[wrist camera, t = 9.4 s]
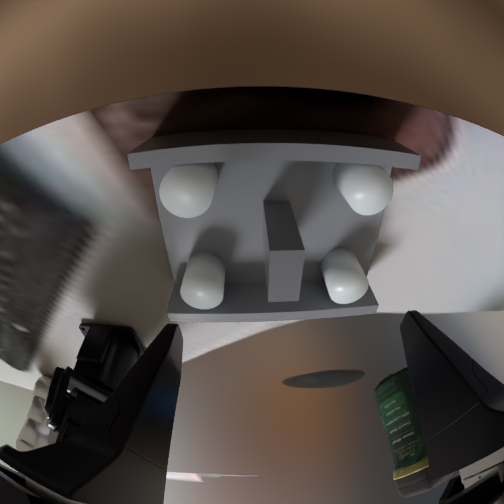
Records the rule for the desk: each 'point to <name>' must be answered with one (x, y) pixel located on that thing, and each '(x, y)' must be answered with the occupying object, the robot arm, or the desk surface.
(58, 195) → the desk surface
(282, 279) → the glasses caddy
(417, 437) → the coffee jar
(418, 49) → the tan rectangular block
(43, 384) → the plastic bottle
